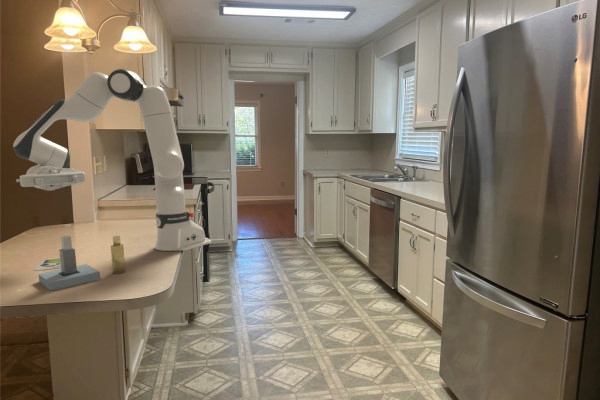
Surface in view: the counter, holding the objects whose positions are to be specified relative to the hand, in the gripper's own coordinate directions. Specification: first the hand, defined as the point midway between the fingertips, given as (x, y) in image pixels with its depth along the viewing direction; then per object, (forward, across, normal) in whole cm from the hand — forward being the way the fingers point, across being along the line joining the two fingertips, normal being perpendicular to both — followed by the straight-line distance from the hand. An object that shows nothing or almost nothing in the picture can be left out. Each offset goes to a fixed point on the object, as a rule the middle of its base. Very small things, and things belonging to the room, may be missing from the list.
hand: (60, 180), depth 144 cm
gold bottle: (+21, +9, +30) cm, 38 cm away
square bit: (+18, -5, +30) cm, 35 cm away
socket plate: (+18, -5, +30) cm, 35 cm away
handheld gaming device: (-7, -3, +31) cm, 32 cm away
